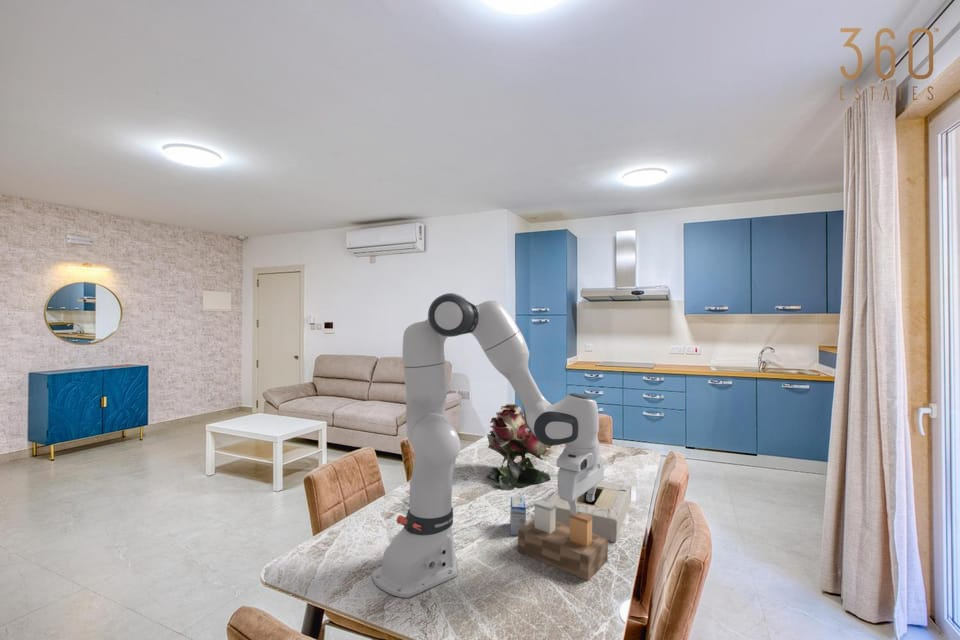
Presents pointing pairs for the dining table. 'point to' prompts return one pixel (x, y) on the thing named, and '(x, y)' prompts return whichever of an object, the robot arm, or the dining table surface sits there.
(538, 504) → the cream plug
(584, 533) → the orange plug
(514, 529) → the medicine box
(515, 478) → the rose bouquet
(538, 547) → the block
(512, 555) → the dining table surface
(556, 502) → the pale hollow square block
